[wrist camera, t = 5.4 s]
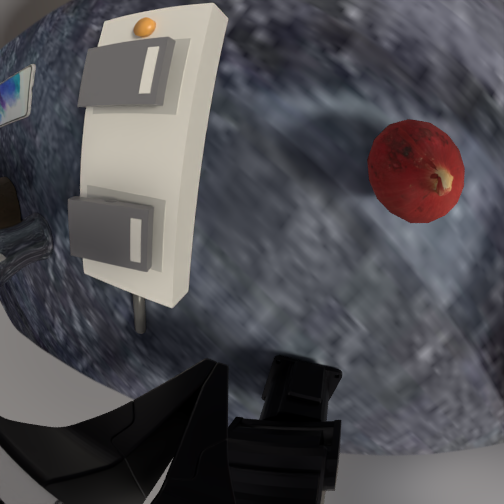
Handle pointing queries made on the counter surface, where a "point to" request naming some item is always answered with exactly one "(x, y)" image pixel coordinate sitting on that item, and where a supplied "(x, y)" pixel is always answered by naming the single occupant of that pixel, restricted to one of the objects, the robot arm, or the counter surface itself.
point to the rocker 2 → (111, 232)
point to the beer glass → (24, 245)
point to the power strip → (156, 149)
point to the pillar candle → (8, 203)
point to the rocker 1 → (127, 73)
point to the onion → (416, 171)
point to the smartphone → (16, 96)
